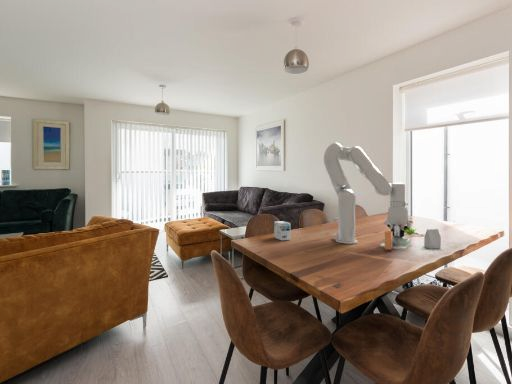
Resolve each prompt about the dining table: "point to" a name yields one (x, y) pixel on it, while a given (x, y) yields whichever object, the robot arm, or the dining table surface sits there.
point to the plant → (411, 232)
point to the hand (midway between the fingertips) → (397, 236)
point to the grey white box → (432, 239)
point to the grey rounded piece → (397, 232)
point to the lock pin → (389, 240)
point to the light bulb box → (282, 230)
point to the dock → (399, 244)
